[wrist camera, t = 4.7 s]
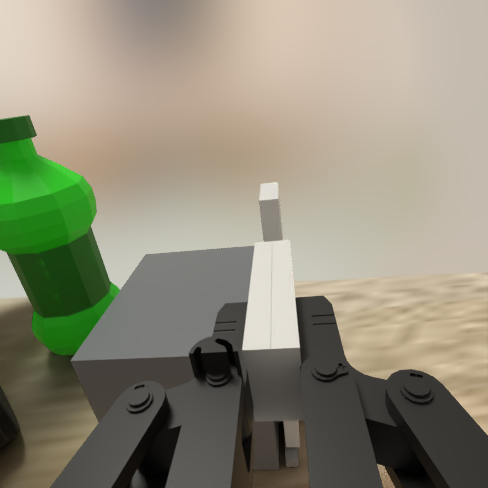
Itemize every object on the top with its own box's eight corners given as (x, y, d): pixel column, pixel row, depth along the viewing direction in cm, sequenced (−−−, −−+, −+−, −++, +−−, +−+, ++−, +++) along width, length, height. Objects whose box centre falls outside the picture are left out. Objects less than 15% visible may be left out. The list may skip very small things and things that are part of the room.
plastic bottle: (71, 316, 46) (-13, 120, 35) (147, 311, 45) (85, 106, 34) (25, 375, 37) (-107, 135, 26) (118, 370, 36) (21, 118, 25)
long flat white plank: (286, 447, 25) (258, 207, 17) (284, 390, 29) (261, 179, 21) (300, 447, 25) (278, 205, 17) (296, 390, 29) (277, 177, 21)
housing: (120, 469, 26) (70, 360, 21) (175, 327, 41) (153, 244, 36) (299, 470, 24) (287, 352, 20) (289, 321, 39) (282, 233, 34)
